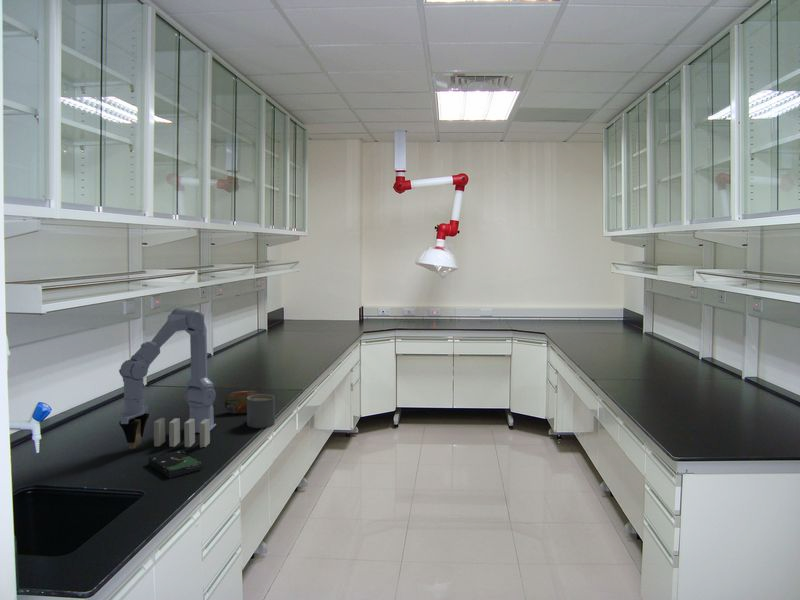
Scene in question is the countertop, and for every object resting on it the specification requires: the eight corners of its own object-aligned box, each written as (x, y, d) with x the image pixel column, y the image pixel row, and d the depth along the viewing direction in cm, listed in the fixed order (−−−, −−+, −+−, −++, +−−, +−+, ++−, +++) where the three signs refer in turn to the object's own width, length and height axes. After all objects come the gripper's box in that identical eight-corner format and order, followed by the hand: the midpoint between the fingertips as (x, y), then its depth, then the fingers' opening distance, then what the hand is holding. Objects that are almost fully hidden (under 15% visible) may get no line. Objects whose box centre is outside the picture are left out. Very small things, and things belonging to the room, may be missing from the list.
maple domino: (129, 448, 192) (128, 423, 191) (136, 443, 197) (135, 419, 196) (134, 448, 192) (133, 423, 191) (141, 443, 197) (140, 419, 196)
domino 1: (154, 446, 199) (153, 422, 198) (160, 441, 204) (160, 417, 203) (159, 446, 199) (158, 422, 198) (165, 441, 204) (164, 418, 203)
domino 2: (169, 446, 199) (169, 422, 198) (175, 441, 204) (175, 418, 203) (174, 446, 199) (173, 422, 198) (180, 441, 204) (179, 418, 203)
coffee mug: (273, 427, 221) (273, 400, 221) (245, 428, 220) (245, 401, 219) (275, 417, 235) (276, 391, 234) (249, 417, 233) (249, 392, 232)
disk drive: (147, 466, 183) (169, 480, 173) (147, 457, 183) (169, 470, 172) (180, 458, 190) (203, 470, 180) (180, 449, 190) (203, 461, 180)
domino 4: (199, 447, 199) (199, 423, 198) (205, 442, 204) (204, 419, 203) (204, 447, 199) (204, 423, 198) (209, 442, 204) (209, 419, 203)
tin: (224, 414, 237) (224, 393, 236) (224, 412, 240) (223, 391, 239) (264, 411, 242) (264, 390, 242) (262, 409, 245) (262, 388, 244)
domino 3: (184, 447, 199) (184, 423, 198) (190, 442, 204) (189, 418, 203) (189, 447, 199) (189, 423, 198) (194, 442, 204) (194, 418, 203)
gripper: (132, 391, 200) (132, 432, 202) (110, 403, 186) (111, 446, 187) (153, 392, 200) (154, 432, 202) (133, 404, 186) (134, 447, 187)
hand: (135, 439), depth 194 cm, fingers closed on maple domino, 5 cm apart
